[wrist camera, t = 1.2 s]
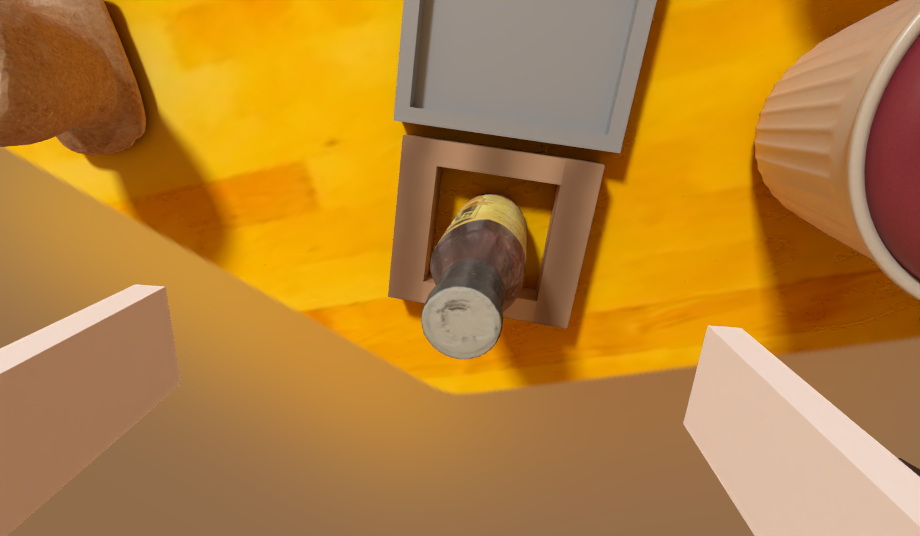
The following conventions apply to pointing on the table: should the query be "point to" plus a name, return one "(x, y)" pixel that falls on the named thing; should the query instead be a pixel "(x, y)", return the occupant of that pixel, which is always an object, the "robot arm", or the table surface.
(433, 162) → the bottle stand
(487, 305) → the sauce bottle
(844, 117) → the canister
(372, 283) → the table surface
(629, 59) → the tray
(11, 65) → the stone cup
